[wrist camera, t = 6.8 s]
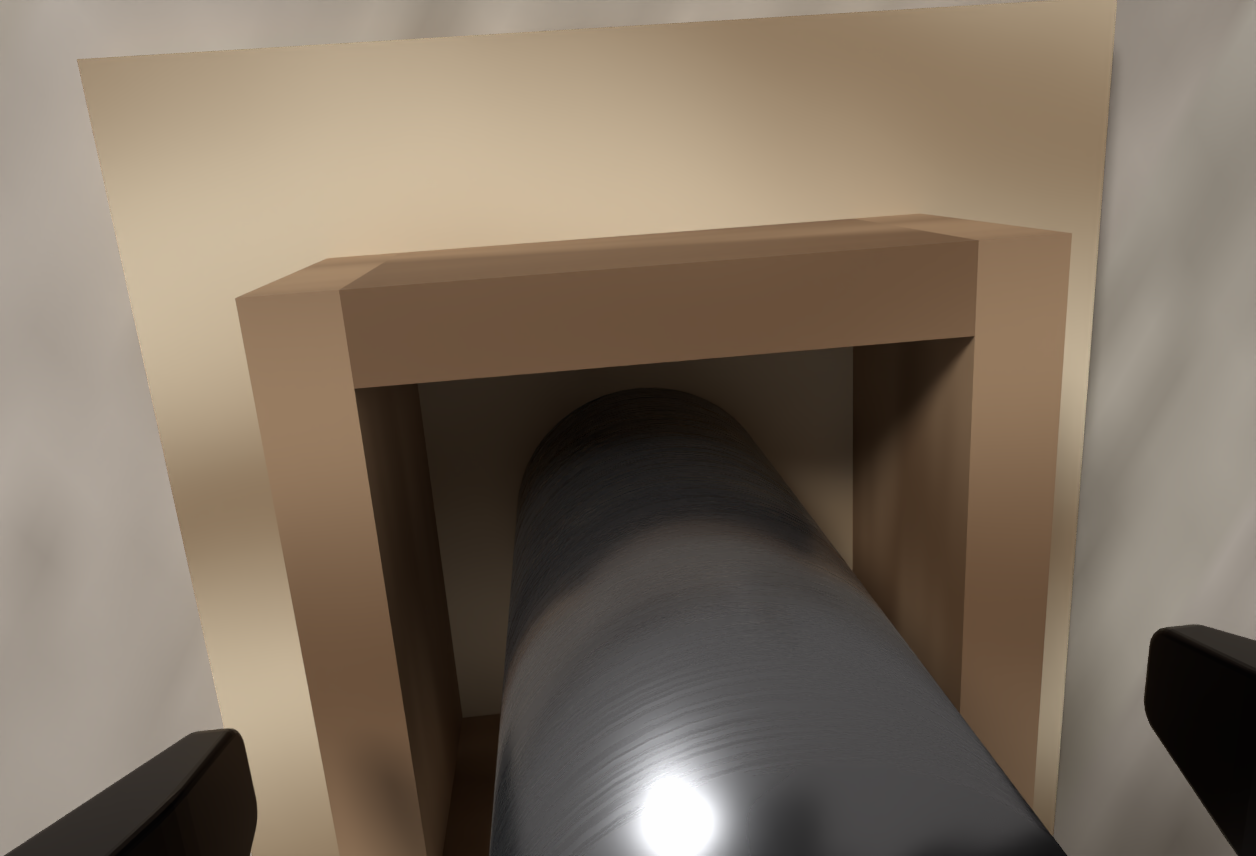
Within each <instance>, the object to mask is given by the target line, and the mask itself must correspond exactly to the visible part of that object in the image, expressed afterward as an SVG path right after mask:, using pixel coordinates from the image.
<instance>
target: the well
mask: <svg viewBox="0 0 1256 856" xmlns="http://www.w3.org/2000/svg"><path fill="white" fill-rule="evenodd" d="M1116 7H1117V0H1054V1H1037V2H1020V3H1004V4H987V5H971V6H954V7H937V8H921V9H904V10H888V11H871V12H854V13H838V14H821V15H805V16H788V17H771V18H755V19H738V20H722V21H705V22H688V23H672V24H655V25H639V26H622V27H605V28H589V29H572V30H556V31H539V32H522V33H506V34H489V35H472V36H456V37H439V38H423V39H406V40H389V41H373V42H356V43H340V44H323V45H306V46H290V47H273V48H257V49H240V50H223V51H207V52H190V53H174V54H157V55H140V56H124V57H107V58H91V59H77V62H78V67H79V71H80V76H81V80H82V85H83V89H84V94H85V99H86V103H87V108H88V112H89V117H90V121H91V126H92V130H93V135H94V139H95V144H96V148H97V153H98V158H99V162H100V167H101V171H102V176H103V180H104V185H105V189H106V194H107V198H108V203H109V208H110V212H111V217H112V221H113V226H114V230H115V235H116V239H117V244H118V248H119V253H120V258H121V262H122V267H123V271H124V276H125V280H126V285H127V289H128V294H129V298H130V303H131V307H132V312H133V317H134V321H135V326H136V330H137V335H138V339H139V344H140V348H141V353H142V357H143V362H144V367H145V371H146V376H147V380H148V385H149V389H150V394H151V398H152V403H153V407H154V412H155V417H156V421H157V426H158V430H159V435H160V439H161V444H162V448H163V453H164V457H165V462H166V466H167V471H168V476H169V480H170V485H171V489H172V494H173V498H174V503H175V507H176V512H177V516H178V521H179V526H180V530H181V535H182V539H183V544H184V548H185V553H186V557H187V562H188V566H189V571H190V576H191V580H192V585H193V589H194V594H195V598H196V603H197V607H198V612H199V616H200V621H201V625H202V630H203V635H204V639H205V644H206V648H207V653H208V657H209V662H210V666H211V671H212V675H213V680H214V685H215V689H216V694H217V698H218V703H219V707H220V712H221V716H222V721H223V725H224V729H225V728H233V729H235V730H237V731H238V732H239V733H240V734H241V736H242V738H243V740H244V744H245V748H246V753H247V757H248V762H249V767H250V772H251V776H252V781H253V786H254V790H255V795H256V800H257V810H258V814H257V826H256V831H255V836H254V840H253V844H252V848H251V853H252V856H489V852H490V840H491V827H492V815H493V803H494V790H495V778H496V765H497V753H498V740H499V728H500V715H501V703H502V691H503V678H504V666H505V653H506V641H507V628H508V616H509V603H510V591H511V579H512V566H513V554H514V541H515V529H516V516H517V505H518V495H519V490H520V486H521V482H522V478H523V475H524V473H525V470H526V468H527V465H528V463H529V461H530V459H531V457H532V455H533V454H534V452H535V450H536V448H537V447H538V445H539V444H540V443H541V441H542V440H543V439H544V437H545V436H546V435H547V434H548V433H549V432H550V431H551V430H552V429H553V428H554V427H555V425H556V424H557V423H558V422H559V421H561V420H562V419H563V418H565V417H566V416H567V415H569V414H570V413H571V412H572V411H574V410H576V409H577V408H579V407H581V406H582V405H584V404H586V403H587V402H590V401H592V400H594V399H597V398H599V397H601V396H604V395H607V394H610V393H614V392H617V391H621V390H627V389H634V388H654V387H656V388H666V389H674V390H678V391H682V392H686V393H690V394H693V395H695V396H698V397H701V398H703V399H706V400H707V401H709V402H711V403H713V404H715V405H717V406H718V407H720V408H722V409H723V410H724V411H726V412H727V413H728V414H730V415H731V416H732V417H734V418H735V419H736V420H737V421H738V422H739V423H740V424H741V425H742V426H743V427H744V428H745V429H746V431H747V432H748V433H749V435H750V436H751V437H752V439H753V440H754V441H755V442H756V444H757V445H758V446H759V448H760V449H761V450H762V452H763V453H764V454H765V456H766V457H767V458H768V460H769V461H770V462H771V464H772V465H773V466H774V468H775V469H776V470H777V472H778V473H779V474H780V476H781V477H782V478H783V480H784V481H785V482H786V484H787V485H788V486H789V488H790V489H791V490H792V492H793V493H794V494H795V495H796V497H797V498H798V499H799V501H800V502H801V503H802V505H803V506H804V507H805V509H806V510H807V511H808V513H809V514H810V515H811V517H812V518H813V519H814V521H815V522H816V523H817V525H818V526H819V527H820V529H821V530H822V531H823V533H824V534H825V535H826V537H827V538H828V539H829V541H830V542H831V543H832V545H833V546H834V547H835V549H836V550H837V551H838V553H839V554H840V555H841V556H842V558H843V559H844V560H845V562H846V563H847V564H848V566H849V567H850V568H851V570H852V571H853V572H854V574H855V575H856V576H857V578H858V579H859V580H860V582H861V583H862V584H863V586H864V587H865V588H866V590H867V591H868V592H869V594H870V595H871V596H872V598H873V599H874V600H875V602H876V603H877V604H878V606H879V607H880V608H881V610H882V611H883V612H884V614H885V615H886V616H887V617H888V619H889V620H890V621H891V623H892V624H893V625H894V627H895V628H896V629H897V631H898V632H899V633H900V635H901V636H902V637H903V639H904V640H905V641H906V643H907V644H908V645H909V647H910V648H911V649H912V651H913V652H914V653H915V655H916V656H917V657H918V659H919V660H920V661H921V663H922V664H923V665H924V667H925V668H926V669H927V671H928V672H929V673H930V675H931V676H932V677H933V678H934V680H935V681H936V682H937V684H938V685H939V686H940V688H941V689H942V690H943V692H944V693H945V694H946V696H947V697H948V698H949V700H950V701H951V702H952V704H953V705H954V706H955V708H956V709H957V710H958V712H959V713H960V714H961V716H962V717H963V718H964V720H965V721H966V722H967V724H968V725H969V726H970V728H971V729H972V730H973V732H974V733H975V734H976V736H977V737H978V738H979V739H980V741H981V742H982V743H983V745H984V746H985V747H986V749H987V750H988V751H989V753H990V754H991V755H992V757H993V758H994V759H995V761H996V762H997V763H998V765H999V766H1000V767H1001V769H1002V770H1003V771H1004V773H1005V774H1006V775H1007V777H1008V778H1009V779H1010V781H1011V782H1012V783H1013V785H1014V786H1015V787H1016V789H1017V790H1018V791H1019V793H1020V794H1021V795H1022V797H1023V798H1024V799H1025V800H1026V802H1027V803H1028V804H1029V806H1030V807H1031V808H1032V810H1033V811H1034V812H1035V814H1036V815H1037V816H1038V818H1039V819H1040V820H1041V822H1042V823H1043V824H1044V826H1045V827H1046V828H1047V830H1048V831H1049V832H1050V834H1051V835H1053V834H1054V821H1055V808H1056V795H1057V782H1058V769H1059V755H1060V742H1061V729H1062V716H1063V703H1064V690H1065V677H1066V663H1067V650H1068V637H1069V624H1070V611H1071V598H1072V585H1073V572H1074V558H1075V545H1076V532H1077V519H1078V506H1079V493H1080V480H1081V466H1082V453H1083V440H1084V427H1085V414H1086V401H1087V388H1088V374H1089V361H1090V348H1091V335H1092V322H1093V309H1094V296H1095V282H1096V269H1097V256H1098V243H1099V230H1100V217H1101V204H1102V190H1103V177H1104V164H1105V151H1106V138H1107V125H1108V112H1109V99H1110V85H1111V72H1112V59H1113V46H1114V33H1115V20H1116Z"/></svg>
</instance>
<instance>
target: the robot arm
mask: <svg viewBox="0 0 1256 856" xmlns="http://www.w3.org/2000/svg"><path fill="white" fill-rule="evenodd" d="M1144 706H1145V712H1146V715H1147V718H1148V721H1149V723H1150V725H1151V727H1152V729H1153V730H1154V732H1155V733H1156V735H1157V736H1158V738H1159V739H1160V741H1161V742H1162V744H1163V745H1164V747H1165V748H1166V750H1167V751H1168V753H1169V754H1170V756H1171V757H1172V759H1173V760H1174V762H1175V763H1176V765H1177V766H1178V768H1179V769H1180V771H1181V772H1182V774H1183V775H1184V777H1185V778H1186V780H1187V781H1188V783H1189V784H1190V786H1191V787H1192V789H1193V790H1194V792H1195V793H1196V795H1197V796H1198V798H1199V799H1200V801H1201V802H1202V804H1203V805H1204V807H1205V808H1206V810H1207V811H1208V813H1209V814H1210V816H1211V817H1212V819H1213V820H1214V822H1215V823H1216V825H1217V826H1218V828H1219V829H1220V831H1221V832H1222V834H1223V835H1224V837H1225V838H1226V839H1227V841H1228V842H1229V844H1230V845H1231V847H1232V848H1233V849H1234V851H1235V852H1236V854H1237V855H1238V856H1256V641H1255V640H1252V639H1248V638H1245V637H1241V636H1238V635H1234V634H1231V633H1228V632H1224V631H1221V630H1217V629H1214V628H1210V627H1207V626H1203V625H1183V626H1174V627H1166V628H1161V629H1159V630H1158V631H1156V632H1155V633H1154V634H1153V636H1152V638H1151V641H1150V646H1149V656H1148V665H1147V675H1146V684H1145V694H1144ZM257 814H258V810H257V800H256V795H255V790H254V786H253V781H252V776H251V772H250V767H249V762H248V757H247V753H246V748H245V744H244V740H243V738H242V736H241V734H240V733H239V732H238V731H237V730H235V729H233V728H225V729H216V730H207V731H197V732H194V733H191V734H189V735H187V736H186V737H184V738H183V739H181V740H179V741H178V742H176V743H175V744H173V745H172V746H170V747H169V748H167V749H166V750H164V751H163V752H161V753H160V754H158V755H157V756H155V757H154V758H152V759H151V760H149V761H147V762H146V763H144V764H143V765H141V766H140V767H138V768H137V769H135V770H134V771H132V772H131V773H129V774H128V775H126V776H125V777H123V778H122V779H120V780H119V781H117V782H116V783H114V784H112V785H111V786H109V787H108V788H106V789H105V790H103V791H102V792H100V793H99V794H97V795H96V796H94V797H93V798H91V799H90V800H88V801H87V802H85V803H84V804H82V805H80V806H79V807H77V808H76V809H74V810H73V811H71V812H70V813H68V814H67V815H65V816H64V817H62V818H61V819H59V820H58V821H56V822H55V823H53V824H52V825H50V826H49V827H47V828H45V829H44V830H42V831H41V832H39V833H38V834H36V835H35V836H33V837H32V838H30V839H29V840H27V841H26V842H24V843H23V844H21V845H20V846H18V847H17V848H15V849H13V850H12V851H10V852H9V853H7V854H6V855H4V856H250V853H251V848H252V844H253V840H254V836H255V831H256V826H257Z"/></svg>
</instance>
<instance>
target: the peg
mask: <svg viewBox="0 0 1256 856" xmlns="http://www.w3.org/2000/svg"><path fill="white" fill-rule="evenodd" d="M489 856H1067V855H1066V854H1065V852H1064V851H1063V850H1062V848H1061V847H1060V846H1059V844H1058V843H1057V842H1056V840H1055V839H1054V838H1053V836H1052V835H1051V834H1050V832H1049V831H1048V830H1047V828H1046V827H1045V826H1044V824H1043V823H1042V822H1041V820H1040V819H1039V818H1038V816H1037V815H1036V814H1035V812H1034V811H1033V810H1032V808H1031V807H1030V806H1029V804H1028V803H1027V802H1026V800H1025V799H1024V798H1023V797H1022V795H1021V794H1020V793H1019V791H1018V790H1017V789H1016V787H1015V786H1014V785H1013V783H1012V782H1011V781H1010V779H1009V778H1008V777H1007V775H1006V774H1005V773H1004V771H1003V770H1002V769H1001V767H1000V766H999V765H998V763H997V762H996V761H995V759H994V758H993V757H992V755H991V754H990V753H989V751H988V750H987V749H986V747H985V746H984V745H983V743H982V742H981V741H980V739H979V738H978V737H977V736H976V734H975V733H974V732H973V730H972V729H971V728H970V726H969V725H968V724H967V722H966V721H965V720H964V718H963V717H962V716H961V714H960V713H959V712H958V710H957V709H956V708H955V706H954V705H953V704H952V702H951V701H950V700H949V698H948V697H947V696H946V694H945V693H944V692H943V690H942V689H941V688H940V686H939V685H938V684H937V682H936V681H935V680H934V678H933V677H932V676H931V675H930V673H929V672H928V671H927V669H926V668H925V667H924V665H923V664H922V663H921V661H920V660H919V659H918V657H917V656H916V655H915V653H914V652H913V651H912V649H911V648H910V647H909V645H908V644H907V643H906V641H905V640H904V639H903V637H902V636H901V635H900V633H899V632H898V631H897V629H896V628H895V627H894V625H893V624H892V623H891V621H890V620H889V619H888V617H887V616H886V615H885V614H884V612H883V611H882V610H881V608H880V607H879V606H878V604H877V603H876V602H875V600H874V599H873V598H872V596H871V595H870V594H869V592H868V591H867V590H866V588H865V587H864V586H863V584H862V583H861V582H860V580H859V579H858V578H857V576H856V575H855V574H854V572H853V571H852V570H851V568H850V567H849V566H848V564H847V563H846V562H845V560H844V559H843V558H842V556H841V555H840V554H839V553H838V551H837V550H836V549H835V547H834V546H833V545H832V543H831V542H830V541H829V539H828V538H827V537H826V535H825V534H824V533H823V531H822V530H821V529H820V527H819V526H818V525H817V523H816V522H815V521H814V519H813V518H812V517H811V515H810V514H809V513H808V511H807V510H806V509H805V507H804V506H803V505H802V503H801V502H800V501H799V499H798V498H797V497H796V495H795V494H794V493H793V492H792V490H791V489H790V488H789V486H788V485H787V484H786V482H785V481H784V480H783V478H782V477H781V476H780V474H779V473H778V472H777V470H776V469H775V468H774V466H773V465H772V464H771V462H770V461H769V460H768V458H767V457H766V456H765V454H764V453H763V452H762V450H761V449H760V448H759V446H758V445H757V444H756V442H755V441H754V440H753V439H752V437H751V436H750V435H749V433H748V432H747V431H746V429H745V428H744V427H743V426H742V425H741V424H740V423H739V422H738V421H737V420H736V419H735V418H734V417H732V416H731V415H730V414H728V413H727V412H726V411H724V410H723V409H722V408H720V407H718V406H717V405H715V404H713V403H711V402H709V401H707V400H706V399H703V398H701V397H698V396H695V395H693V394H690V393H686V392H682V391H678V390H674V389H666V388H656V387H654V388H634V389H627V390H621V391H617V392H614V393H610V394H607V395H604V396H601V397H599V398H597V399H594V400H592V401H590V402H587V403H586V404H584V405H582V406H581V407H579V408H577V409H576V410H574V411H572V412H571V413H570V414H569V415H567V416H566V417H565V418H563V419H562V420H561V421H559V422H558V423H557V424H556V425H555V427H554V428H553V429H552V430H551V431H550V432H549V433H548V434H547V435H546V436H545V437H544V439H543V440H542V441H541V443H540V444H539V445H538V447H537V448H536V450H535V452H534V454H533V455H532V457H531V459H530V461H529V463H528V465H527V468H526V470H525V473H524V475H523V478H522V482H521V486H520V490H519V495H518V505H517V516H516V529H515V541H514V554H513V566H512V579H511V591H510V603H509V616H508V628H507V641H506V653H505V666H504V678H503V691H502V703H501V715H500V728H499V740H498V753H497V765H496V778H495V790H494V803H493V815H492V827H491V840H490V852H489Z"/></svg>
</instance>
